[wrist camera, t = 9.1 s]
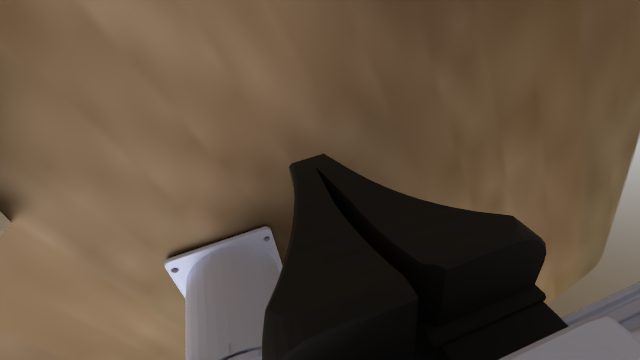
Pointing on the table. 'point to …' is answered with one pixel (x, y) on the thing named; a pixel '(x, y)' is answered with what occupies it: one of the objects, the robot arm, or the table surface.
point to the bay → (3, 223)
